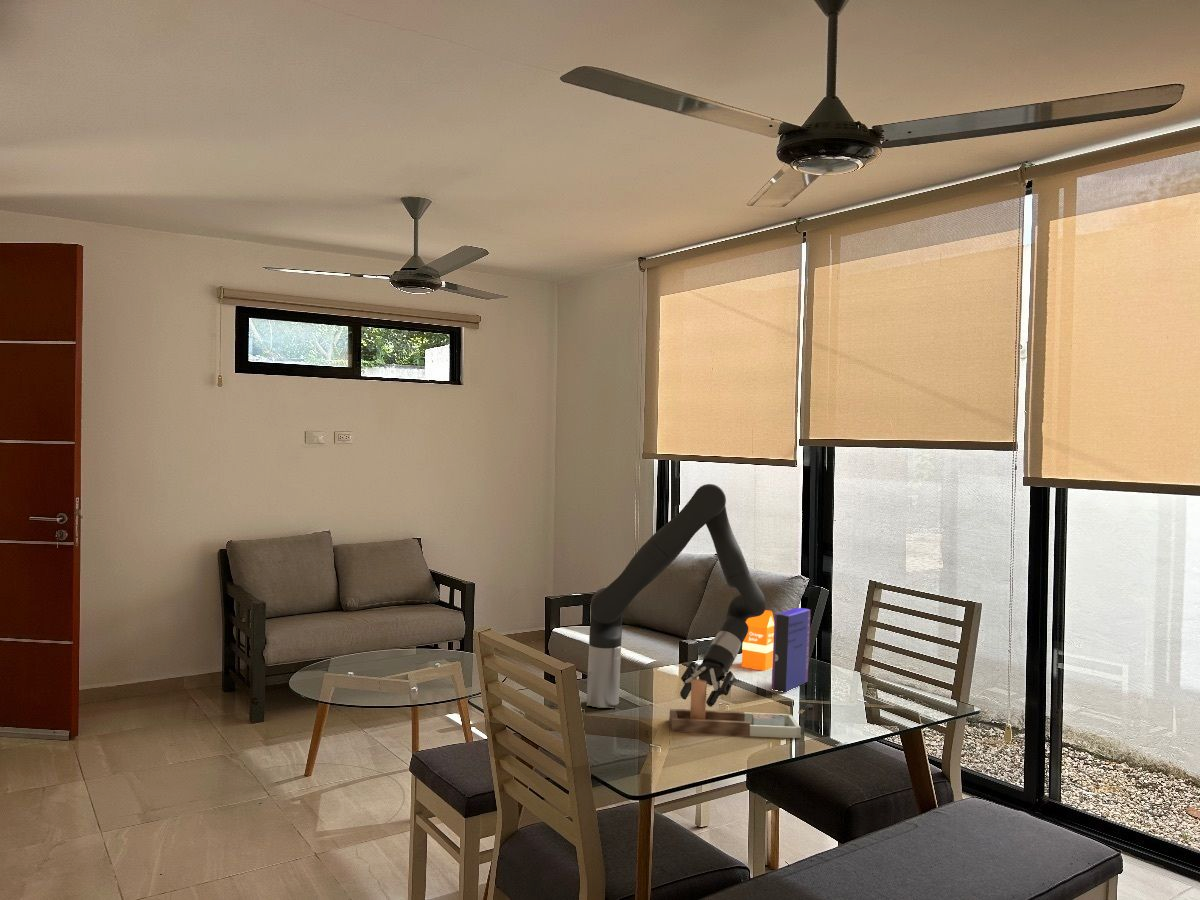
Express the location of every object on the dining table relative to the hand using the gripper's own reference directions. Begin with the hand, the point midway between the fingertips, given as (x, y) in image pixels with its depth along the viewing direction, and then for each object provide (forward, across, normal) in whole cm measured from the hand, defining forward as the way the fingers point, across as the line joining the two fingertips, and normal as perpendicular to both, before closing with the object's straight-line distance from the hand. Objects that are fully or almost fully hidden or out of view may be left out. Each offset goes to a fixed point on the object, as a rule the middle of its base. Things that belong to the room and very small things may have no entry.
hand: (695, 701), depth 237 cm
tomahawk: (-19, +11, +31) cm, 38 cm away
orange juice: (-48, -30, +59) cm, 82 cm away
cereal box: (-38, -8, +49) cm, 63 cm away
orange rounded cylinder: (+4, 0, +6) cm, 7 cm away
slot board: (+3, +2, +8) cm, 9 cm away
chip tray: (-5, +14, +16) cm, 22 cm away
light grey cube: (-4, +12, +14) cm, 19 cm away
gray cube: (-6, +15, +16) cm, 23 cm away
